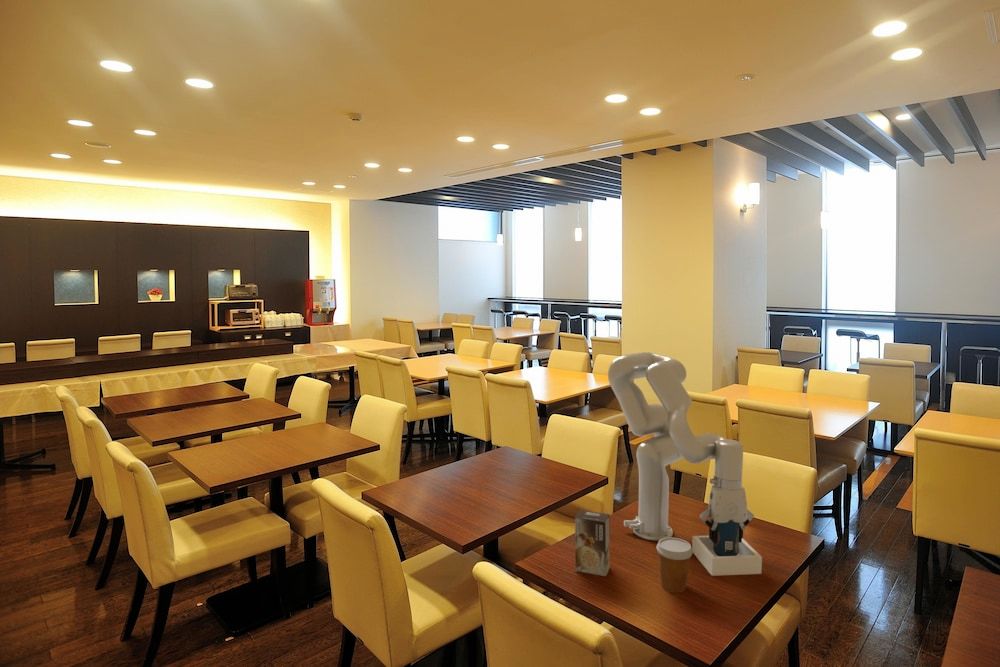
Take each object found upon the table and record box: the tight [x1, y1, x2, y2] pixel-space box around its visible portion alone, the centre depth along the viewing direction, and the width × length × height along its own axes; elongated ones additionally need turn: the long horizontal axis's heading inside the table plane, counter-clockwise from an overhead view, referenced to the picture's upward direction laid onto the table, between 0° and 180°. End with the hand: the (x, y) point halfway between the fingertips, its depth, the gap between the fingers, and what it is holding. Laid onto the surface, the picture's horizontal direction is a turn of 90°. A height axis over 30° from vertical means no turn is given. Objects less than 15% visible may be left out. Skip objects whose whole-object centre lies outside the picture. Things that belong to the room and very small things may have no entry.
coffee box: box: [574, 509, 610, 577], centre depth 169 cm, size 9×6×16 cm
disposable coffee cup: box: [656, 536, 694, 593], centre depth 159 cm, size 10×10×12 cm
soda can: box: [713, 520, 739, 556], centre depth 172 cm, size 7×7×12 cm
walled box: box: [691, 534, 763, 577], centre depth 173 cm, size 14×14×5 cm
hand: (725, 540), depth 173 cm, fingers closed on soda can, 6 cm apart
